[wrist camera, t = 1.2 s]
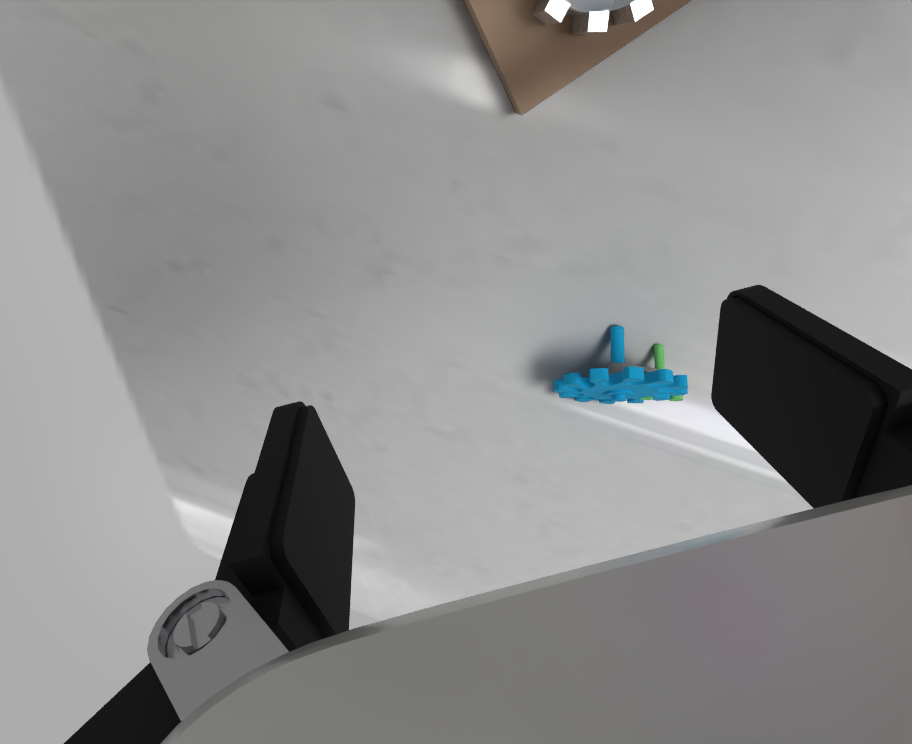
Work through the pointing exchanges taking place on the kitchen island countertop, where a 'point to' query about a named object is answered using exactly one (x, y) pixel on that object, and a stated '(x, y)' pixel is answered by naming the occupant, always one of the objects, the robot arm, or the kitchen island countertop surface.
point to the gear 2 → (624, 379)
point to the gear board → (549, 46)
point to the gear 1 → (591, 13)
